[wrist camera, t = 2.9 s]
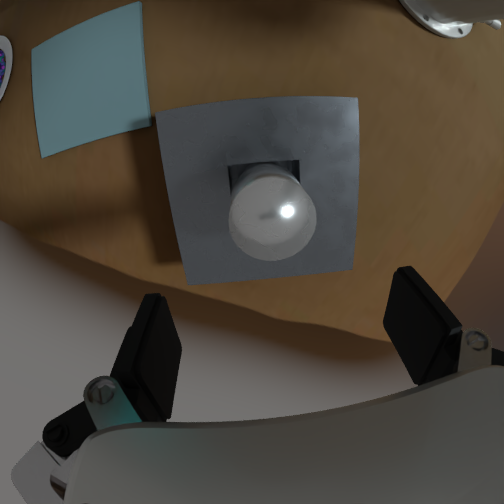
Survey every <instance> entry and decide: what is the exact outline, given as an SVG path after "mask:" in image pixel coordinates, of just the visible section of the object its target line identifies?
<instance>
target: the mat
mask: <svg viewBox="0 0 504 504" xmlns="http://www.w3.org/2000/svg"><path fill="white" fill-rule="evenodd" d="M32 87H33V101H34V111H35V119H36V127H37V134H38V140H39V146H40V151H41V157H42V158H44V157H47V156H50V155H52V154H55V153H58V152H60V151H63V150H66V149H69V148H72V147H75V146H78V145H81V144H84V143H87V142H91V141H94V140H97V139H101V138H104V137H108V136H111V135H115V134H119V133H123V132H127V131H131V130H135V129H139V128H144V127H148V126H152V121H151V114H150V106H149V97H148V88H147V79H146V68H145V56H144V42H143V23H142V3H141V2H140V1H138V2H135V3H132V4H128V5H125V6H122V7H120V8H117V9H114V10H111V11H109V12H106V13H104V14H101V15H99V16H96V17H94V18H91V19H89V20H87V21H84V22H82V23H80V24H78V25H76V26H74V27H72V28H70V29H68V30H66V31H64V32H62V33H60V34H58V35H56V36H54V37H52V38H50V39H49V40H47V41H45V42H43V43H42V44H40V45H38V46H37V47H35V48H33V49H32Z"/></svg>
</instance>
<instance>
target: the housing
mask: <svg viewBox="0 0 504 504" xmlns="http://www.w3.org/2000/svg"><path fill="white" fill-rule="evenodd" d="M155 116H156V123H157V131H158V138H159V144H160V151H161V157H162V163H163V169H164V175H165V180H166V186H167V191H168V197H169V202H170V207H171V212H172V217H173V222H174V226H175V231H176V236H177V240H178V245H179V249H180V254H181V258H182V262H183V266H184V270H185V275H186V279H187V283H188V285H197V284H210V283H223V282H234V281H246V280H257V279H268V278H278V277H288V276H298V275H308V274H317V273H326V272H335V271H344V270H352V267H353V258H354V248H355V237H356V224H357V209H358V188H359V112H358V98H351V97H329V96H289V97H266V98H252V99H240V100H230V101H221V102H214V103H206V104H199V105H193V106H187V107H181V108H176V109H170V110H165V111H161V112H156V113H155ZM256 162H271V163H273V164H275V165H278V166H281V167H283V168H285V169H287V170H288V171H289V172H291V173H292V174H293V175H294V177H295V178H296V179H297V181H298V182H299V183H300V185H301V186H302V187H303V189H304V190H305V191H306V193H307V194H308V195H309V197H310V198H311V200H312V202H313V204H314V207H315V210H316V227H315V231H314V233H313V236H312V237H311V239H310V241H309V242H308V244H307V245H306V246H305V247H304V248H303V249H302V250H301V251H299V252H298V253H296V254H295V255H293V256H291V257H288V258H286V259H282V260H276V261H266V260H260V259H257V258H254V257H252V256H249V255H248V254H246V253H245V252H243V251H242V250H241V249H240V248H239V247H238V246H237V245H236V243H235V242H234V240H233V238H232V236H231V233H230V229H229V212H230V203H231V194H232V189H233V186H234V184H235V182H236V180H237V179H238V178H239V176H240V175H241V174H242V172H243V171H244V170H245V169H246V167H248V166H249V165H251V164H252V163H256Z"/></svg>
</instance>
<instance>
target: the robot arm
mask: <svg viewBox="0 0 504 504" xmlns="http://www.w3.org/2000/svg"><path fill="white" fill-rule="evenodd" d="M399 1H400V2H401V4H402V5H403V7H404V8H405V9H406V10H407V11H408V12H409V13H410V15H412V16H413V17H414V18H415V19H416V20H417V21H418V22H419V23H420V24H422V25H423V26H424V27H425V28H427V29H428V30H430V31H432V32H433V33H435V34H437V35H439V36H442V37H445V38H452V39H455V38H462V37H464V36H466V35H467V34H468V33H469V32H470V30H471V28H472V25H473V23H476V22H480V23H484V22H485V23H486V24H487V25H489V26H491V27H492V28H494V29H496V30H497V29H500V27H501V22H500V20H499V19H504V0H399ZM383 325H384V328H385V330H386V332H387V334H388V335H389V337H390V339H391V341H392V343H393V344H394V346H395V348H396V350H397V352H398V354H399V356H400V357H401V359H402V361H403V363H404V365H405V367H406V368H407V371H408V373H409V375H410V377H411V378H412V380H413V382H414V384H417V385H418V386H417V387H414V388H411V389H408V390H405V391H401V392H398V393H395V394H391V395H388V396H385V397H381V398H377V399H374V400H370V401H366V402H362V403H358V404H353V405H349V406H344V407H340V408H335V409H329V410H324V411H318V412H313V413H307V414H300V415H293V416H285V417H277V418H268V419H258V420H244V421H226V422H166V420H167V419H170V418H171V413H172V407H173V400H174V394H175V388H176V382H177V376H178V370H179V364H180V359H181V352H182V347H181V342H180V339H179V337H178V334H177V331H176V328H175V325H174V322H173V319H172V316H171V313H170V310H169V307H168V304H167V301H166V298H165V297H164V296H162V297H161V295H160V293H153V294H145V296H144V298H143V301H142V303H141V305H140V308H139V310H138V312H137V314H136V317H135V320H134V322H133V324H132V326H131V327H129V328H128V330H127V332H126V335H125V337H124V340H123V343H122V345H121V347H120V350H119V353H118V355H117V358H116V360H115V363H114V366H113V368H112V371H111V374H110V376H100V377H97V378H95V379H93V380H92V381H90V382H89V383H88V384H87V386H86V387H85V390H84V394H83V397H84V401H83V402H81V403H80V404H78V405H76V406H75V407H73V408H71V409H70V410H68V411H66V412H65V413H63V414H61V415H60V416H58V417H56V418H55V419H53V420H51V421H50V422H49V423H48V424H47V425H46V426H45V427H44V430H43V441H42V442H41V443H40V442H39V441H37V442H36V443H35V445H34V446H33V447H32V448H31V449H30V450H29V451H28V452H27V453H26V454H25V455H24V456H23V457H22V458H21V459H20V461H19V462H18V463H17V464H16V465H15V466H14V468H13V469H12V473H11V478H12V482H13V484H14V486H15V487H16V488H17V490H18V491H19V493H20V494H21V495H22V497H23V499H24V500H25V501H26V503H27V504H504V352H503V351H500V350H497V349H494V348H492V347H491V346H492V344H491V340H490V338H489V336H488V335H487V334H486V333H485V332H483V331H482V330H480V329H477V328H468V329H466V330H465V331H464V332H462V330H461V328H462V324H461V323H460V322H459V321H458V319H457V318H456V317H455V316H454V314H453V313H452V312H451V311H450V310H449V308H448V307H447V306H446V305H445V303H444V302H443V301H442V300H441V299H440V297H439V296H438V295H437V294H436V293H435V292H434V291H433V289H432V288H431V287H430V286H429V285H428V284H427V283H426V281H425V280H424V279H423V278H422V277H421V276H420V275H419V274H418V273H417V272H416V270H415V269H414V268H413V267H412V266H405V267H399V268H398V269H397V271H396V272H394V275H393V280H392V284H391V289H390V294H389V298H388V302H387V307H386V311H385V315H384V319H383Z"/></svg>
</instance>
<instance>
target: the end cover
mask: <svg viewBox="0 0 504 504" xmlns="http://www.w3.org/2000/svg"><path fill="white" fill-rule="evenodd" d="M315 227H316V210H315V207H314V204H313V202H312V200H311V198H310V197H309V195H308V194H307V193H306V191H305V190H304V189H303V187H302V186H301V185H300V183H299V182H298V181H297V179H296V178H295V177H294V175H293V174H292V173H291V172H289V171H288V170H287V169H285V168H283V167H281V166H278V165H275V164H273V163H271V162H256V163H252V164H251V165H249V166H248V167H246V169H245V170H244V171H243V172H242V174H241V175H240V176H239V178H238V179H237V180H236V182H235V184H234V186H233V189H232V194H231V203H230V212H229V229H230V233H231V236H232V238H233V240H234V242H235V243H236V245H237V246H238V247H239V248H240V249H241V250H242V251H243V252H245V253H246V254H248V255H249V256H252V257H254V258H257V259H260V260H266V261H276V260H282V259H286V258H288V257H291V256H293V255H295V254H296V253H298V252H299V251H301V250H302V249H303V248H304V247H305V246H306V245H307V244H308V242H309V241H310V239H311V237H312V236H313V233H314V231H315Z"/></svg>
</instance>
